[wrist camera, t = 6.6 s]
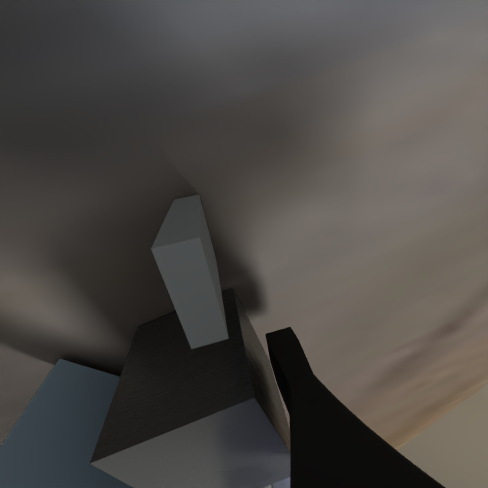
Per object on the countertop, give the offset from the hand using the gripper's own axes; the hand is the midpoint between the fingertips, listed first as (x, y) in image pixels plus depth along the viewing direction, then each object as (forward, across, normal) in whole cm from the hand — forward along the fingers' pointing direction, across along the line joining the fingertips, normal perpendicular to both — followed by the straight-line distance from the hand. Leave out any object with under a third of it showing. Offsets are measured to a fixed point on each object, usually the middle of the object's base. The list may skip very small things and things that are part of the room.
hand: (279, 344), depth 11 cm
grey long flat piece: (+2, +2, +2) cm, 4 cm away
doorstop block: (+2, +3, +1) cm, 4 cm away
